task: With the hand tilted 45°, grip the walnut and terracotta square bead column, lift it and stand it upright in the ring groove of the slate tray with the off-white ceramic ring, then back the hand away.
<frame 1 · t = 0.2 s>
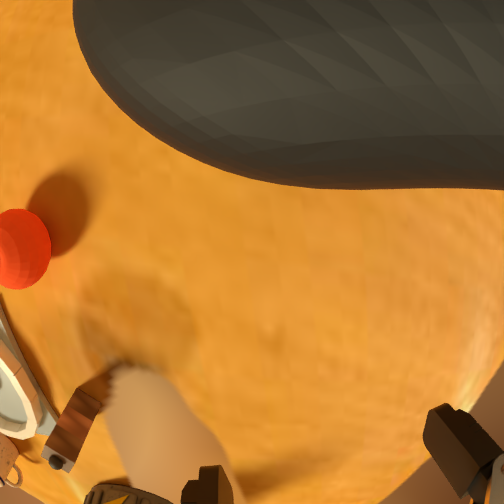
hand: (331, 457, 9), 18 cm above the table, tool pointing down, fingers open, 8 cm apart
teacup with lid: (7, 444, 33), on the table
clementine: (34, 236, 24), on the table
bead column: (85, 402, 29), on the table
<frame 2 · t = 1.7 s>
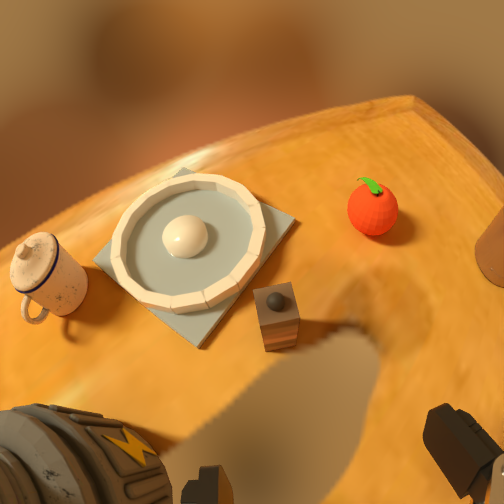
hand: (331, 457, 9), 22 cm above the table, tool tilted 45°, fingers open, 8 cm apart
teacup with lid: (64, 299, 39), on the table
groove dish: (188, 243, 42), on the table
clementine: (365, 222, 41), on the table
decorative lamp: (108, 482, 25), on the table
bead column: (277, 334, 34), on the table
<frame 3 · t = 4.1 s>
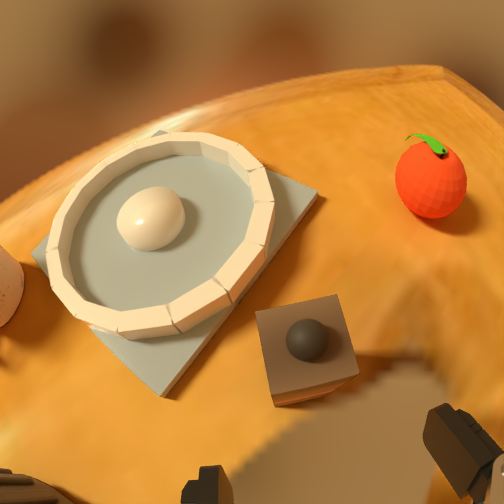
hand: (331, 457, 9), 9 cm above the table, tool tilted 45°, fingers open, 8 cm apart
groove dish: (157, 229, 27), on the table
clementine: (416, 202, 27), on the table
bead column: (295, 378, 19), on the table
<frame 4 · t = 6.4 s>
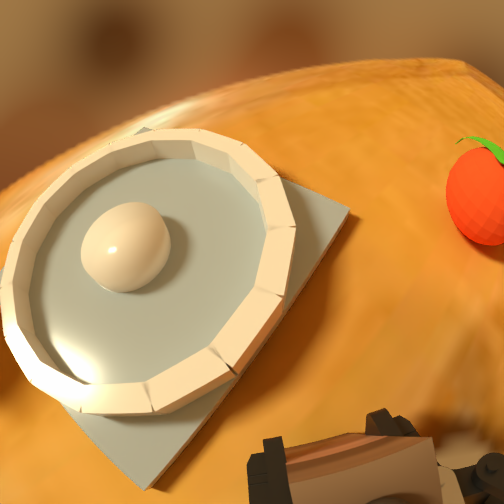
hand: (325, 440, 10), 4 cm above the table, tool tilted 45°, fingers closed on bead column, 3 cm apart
groove dish: (134, 259, 20), on the table
clementine: (465, 221, 20), on the table
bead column: (322, 470, 12), on the table, touching gripper
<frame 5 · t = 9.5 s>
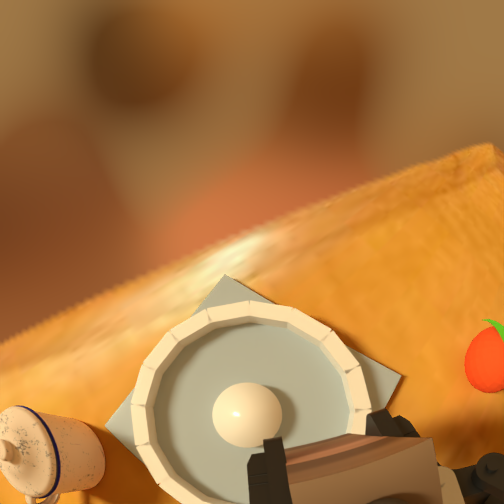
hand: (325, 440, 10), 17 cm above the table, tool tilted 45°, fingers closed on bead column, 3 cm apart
teacup with lid: (74, 464, 23), on the table
groove dish: (249, 415, 26), on the table
clementine: (474, 363, 25), on the table
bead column: (322, 470, 12), point 13 cm above the table, touching gripper
when the fingers open (6 cm above the table, at t = 12.6 s): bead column stays where it is, resting on groove dish.
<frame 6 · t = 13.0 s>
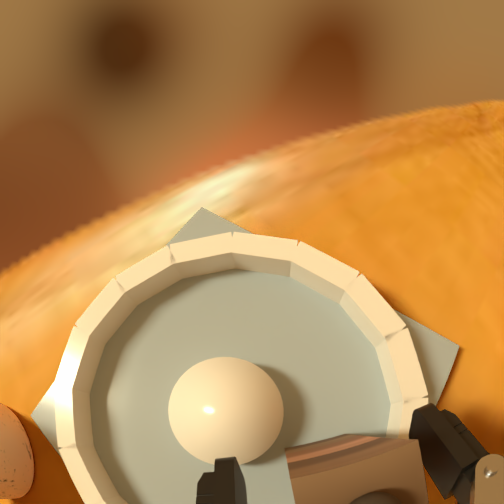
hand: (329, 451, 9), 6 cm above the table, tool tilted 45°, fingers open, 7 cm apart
teacup with lid: (3, 464, 13), on the table
groove dish: (231, 413, 16), on the table
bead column: (320, 468, 13), point 1 cm above the table, touching groove dish
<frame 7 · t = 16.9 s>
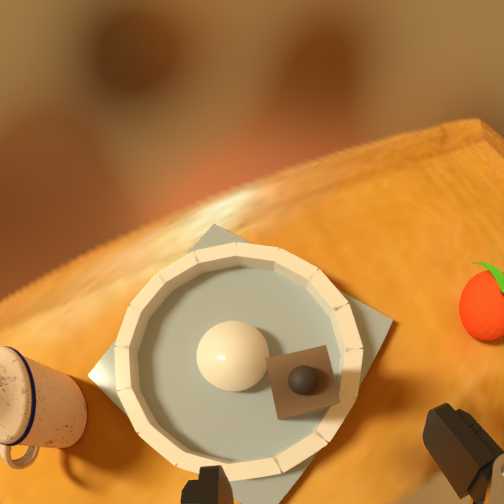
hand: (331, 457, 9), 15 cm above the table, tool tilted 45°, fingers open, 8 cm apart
teacup with lid: (56, 422, 23), on the table
groove dish: (236, 360, 26), on the table
clementine: (470, 315, 26), on the table
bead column: (294, 396, 23), point 1 cm above the table, touching groove dish
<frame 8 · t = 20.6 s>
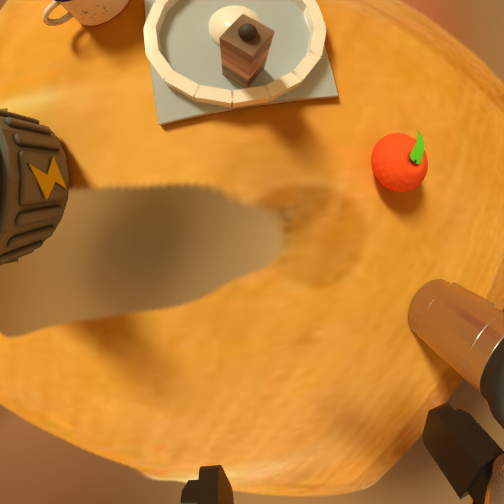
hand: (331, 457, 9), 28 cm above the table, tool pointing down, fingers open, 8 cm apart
teacup with lid: (95, 9, 28), on the table
groove dish: (234, 33, 30), on the table
clementine: (386, 160, 35), on the table
decorative lamp: (23, 185, 32), on the table
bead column: (243, 71, 30), point 1 cm above the table, touching groove dish
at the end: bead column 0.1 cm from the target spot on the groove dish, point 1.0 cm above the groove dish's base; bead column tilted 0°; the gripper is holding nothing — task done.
